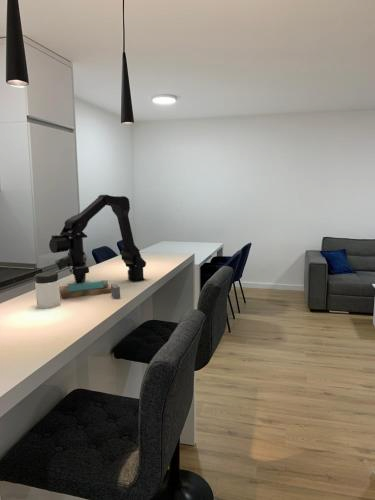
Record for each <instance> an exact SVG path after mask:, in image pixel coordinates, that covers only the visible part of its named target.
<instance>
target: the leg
mask: <svg viewBox="0 0 375 500" xmlns="http://www.w3.org/2000/svg"><path fill="white" fill-rule="evenodd" d="M108 284H109V282H108V279H107V280H106V279H103V280H95V281H88V282H86V281H85V283H77V284H76V283H70V284H68V283H67V286H68V291H69V292H72V291H80V290H89V289H97V288H106V287H108Z"/></svg>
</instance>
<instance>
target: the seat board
mask: <svg viewBox="0 0 375 500" xmlns="http://www.w3.org/2000/svg"><path fill="white" fill-rule="evenodd" d="M59 292H60V300H65V299H71V298H81V297H90V296H91V297H92V296H97V295H104V294H105V295H106V294H111V285H109V283H108V287H106V288H97V289H89V290H80V291H72V292H69V291H68V285H61V286H60V285H59Z"/></svg>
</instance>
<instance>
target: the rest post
mask: <svg viewBox="0 0 375 500" xmlns="http://www.w3.org/2000/svg"><path fill="white" fill-rule="evenodd" d="M110 287H111V293H110V294H111V295H110V296H111V297H112V298H113V300H115V299H116V300H117V299H121V289H120V288H121V287H120V286H119V284H117V283H114V284H110Z"/></svg>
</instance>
